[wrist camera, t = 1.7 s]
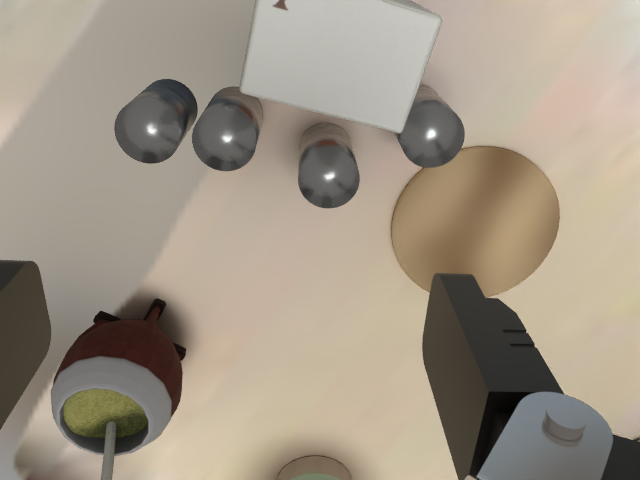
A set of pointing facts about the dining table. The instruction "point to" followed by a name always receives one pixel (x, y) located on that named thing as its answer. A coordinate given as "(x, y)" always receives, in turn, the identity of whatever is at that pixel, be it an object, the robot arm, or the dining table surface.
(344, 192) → the spacer field
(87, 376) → the mate gourd
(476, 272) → the coaster
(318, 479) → the coffee cup
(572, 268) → the dining table surface
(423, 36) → the skincare box
